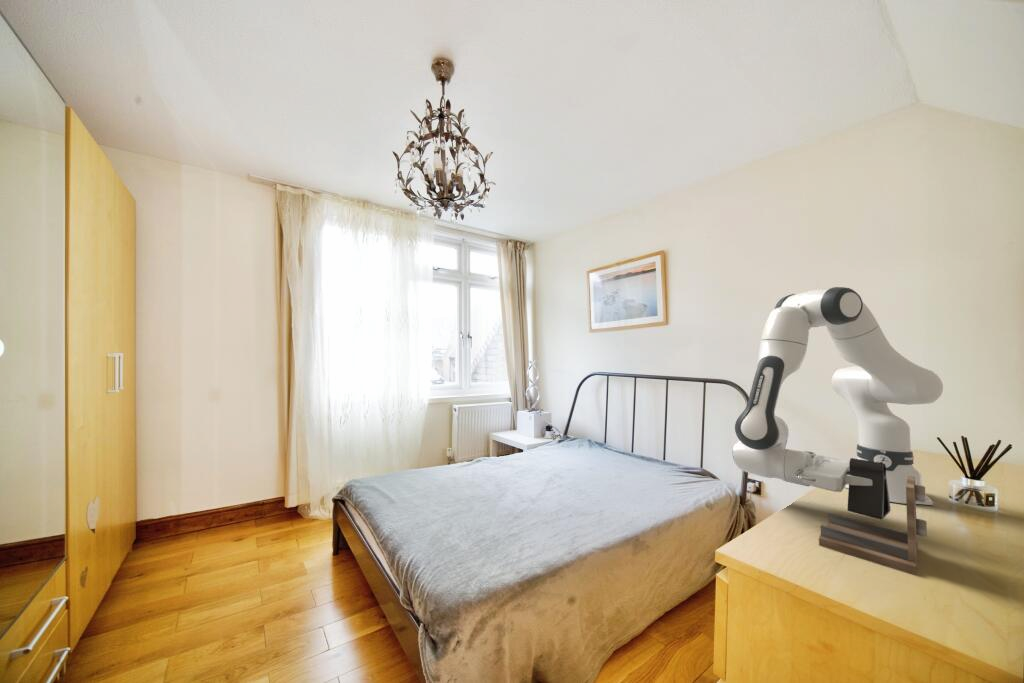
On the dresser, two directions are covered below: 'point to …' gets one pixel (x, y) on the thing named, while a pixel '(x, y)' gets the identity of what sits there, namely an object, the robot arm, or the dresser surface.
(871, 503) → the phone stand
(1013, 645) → the dresser surface
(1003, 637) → the dresser surface
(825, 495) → the dresser surface
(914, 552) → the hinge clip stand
